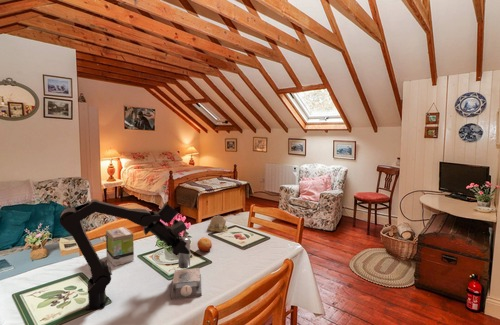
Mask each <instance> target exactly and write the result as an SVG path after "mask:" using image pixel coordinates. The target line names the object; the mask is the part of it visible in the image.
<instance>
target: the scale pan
mask: <svg viewBox="0 0 500 325" xmlns="http://www.w3.org/2000/svg"><path fill="white" fill-rule="evenodd" d="M200 269H201V268H200V267H195V268H184V269H175V270H174V272H173V279H172V285H173V289H176V284H179V283H189V282H196V287H198V286H200V274H201V272H200V271H201V270H200Z"/></svg>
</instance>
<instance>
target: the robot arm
mask: <svg viewBox="0 0 500 325" xmlns="http://www.w3.org/2000/svg"><path fill="white" fill-rule="evenodd" d="M95 213H99V214H103V215H108V216H112V217H117V218H121V219H124V220H127V221H130V222H132V223H134V224H135V225H138V226H140V227H142V228H143V234H144V235H145V236H146V235H147V234H148V233H151V234H152V235H154V236H155V237H156V238H158V239H159V241H161V242H163V243H164V244H165V245H166V246H168V247H170V251H171V252H172V253H173V254H174V255H175V256H178V254H179V253H183V254H189V253H190V254H191V251H190V252H189V250H188V249H187V248H186V247H185V246H186V244H187V243H186V242H185V241H184V240H183V239H182V238H180V233H182V232H184V231H186V230H187V229H188V228H187V225H186V224H185V222H184V221H183V220H182V219H181V220H180V219H179V220H178V219H175V217H176V216H178V214H179V211H178V210H176V208H174V207H173V206H171V205H169V204H168V203H167V202H165V203H164V204H163V206H162V207H161V208H160V209H159V210H158V211H156V210H155V211H151V210H150V211H149V210H148V209H145V208H129V207H125V206H120V205H116V204H113V203H109V202H106V201H100V200H98V199H92V200H90V201H88V202H85V203H83V204H80V205H77V206H75V207H67V208H65V209H63V211H61V214H60V217H59V224H60V225H61V226H62V228H63V229H64V230H65V231H66V232H67V233H68V234H69V235H71V237H72V238H73V240H74V241H75V244H76V245H77V247H78V248H79V251H80V252H81V254H82V256H83V257H84V260H85V261H86V263H87V265H88V267H89V270H90V273H91V276H90V278H89V279H88V280H87V295H88V296H87V297H88V298H87V300H88V303H87V304H86V306H85V308H84V310H85V311H90V310H99V309H104V308H105V307H106V305H107V304H108V301H109V299H110V297H109V296H107V297H106V288H107V286H108V285H110V284H111V281H112V276H113V273H112V267H111V266H110V265H109V263H108V261H107V259H104V261H103V260H102V259H100V257H99V255H98V253H97V251H96V249H95V248H94V246H93V244H92V242H91V240H90V238H89V236H88V235H87V233H86V230H85V229H84V224H83V221H82V220H84V219H87V218H88V217H89V216H92V215H93V214H95ZM172 220H173V221H172ZM171 222H172V224H171V226H169V225H166V224H169V223H171Z"/></svg>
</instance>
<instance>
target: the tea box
mask: <svg viewBox="0 0 500 325" xmlns="http://www.w3.org/2000/svg"><path fill="white" fill-rule="evenodd" d="M105 244H106V245H105V247H106V248H105V249H106V257H107V259H108V261H110V263H111V264H112V266H114V267H116V266H120V265H123V264H127V263H131V262H134V261H135V253H134V252H135V251H134V249H135V248H134V247H135V246H134V233H133V232H132V231H131V230H129V229H128V228H127V227H126V226H121V227H116V228H112V229H106V230H105Z"/></svg>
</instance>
